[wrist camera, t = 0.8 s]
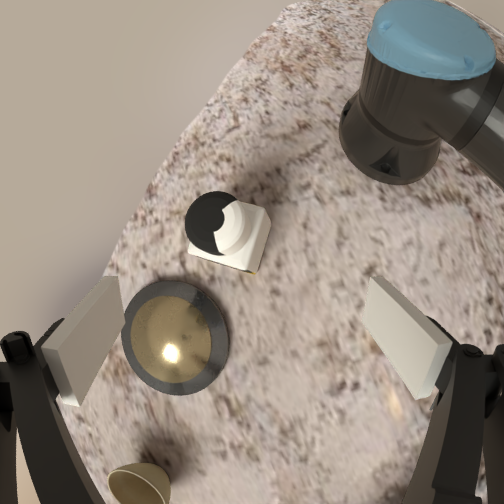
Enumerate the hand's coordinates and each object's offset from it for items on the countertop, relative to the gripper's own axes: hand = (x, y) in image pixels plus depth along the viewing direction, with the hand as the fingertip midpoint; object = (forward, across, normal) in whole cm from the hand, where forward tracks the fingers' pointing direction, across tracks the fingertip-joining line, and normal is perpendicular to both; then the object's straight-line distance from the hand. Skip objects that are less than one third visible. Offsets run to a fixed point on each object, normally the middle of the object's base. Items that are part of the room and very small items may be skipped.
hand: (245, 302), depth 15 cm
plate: (+21, -9, -17) cm, 28 cm away
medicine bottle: (+25, 0, -4) cm, 25 cm away
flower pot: (+12, -14, -39) cm, 43 cm away
